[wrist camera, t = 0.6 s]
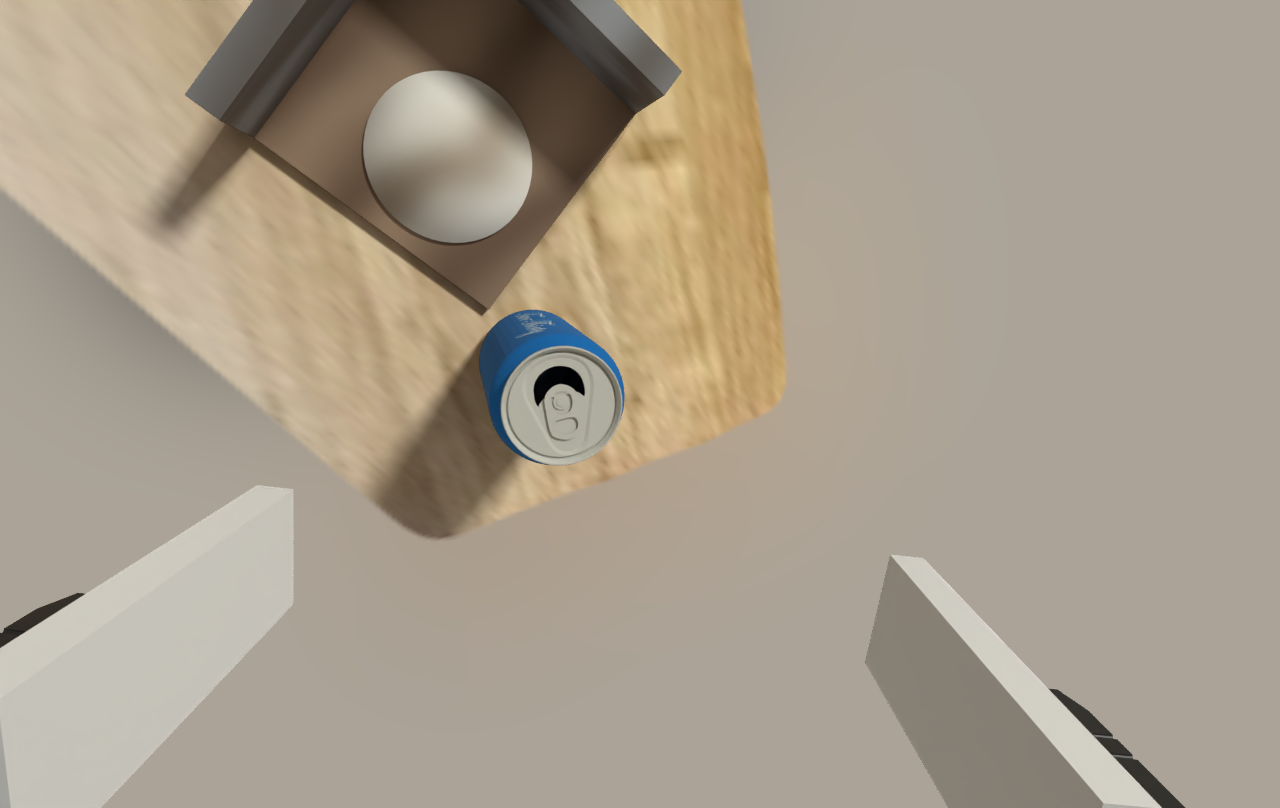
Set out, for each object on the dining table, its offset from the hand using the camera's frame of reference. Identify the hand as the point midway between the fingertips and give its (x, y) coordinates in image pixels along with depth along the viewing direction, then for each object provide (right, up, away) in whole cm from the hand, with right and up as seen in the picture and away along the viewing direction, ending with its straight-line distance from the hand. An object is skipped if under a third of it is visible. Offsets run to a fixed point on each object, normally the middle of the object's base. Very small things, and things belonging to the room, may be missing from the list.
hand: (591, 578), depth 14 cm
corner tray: (-9, +20, +22) cm, 31 cm away
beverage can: (-6, +7, +26) cm, 28 cm away
